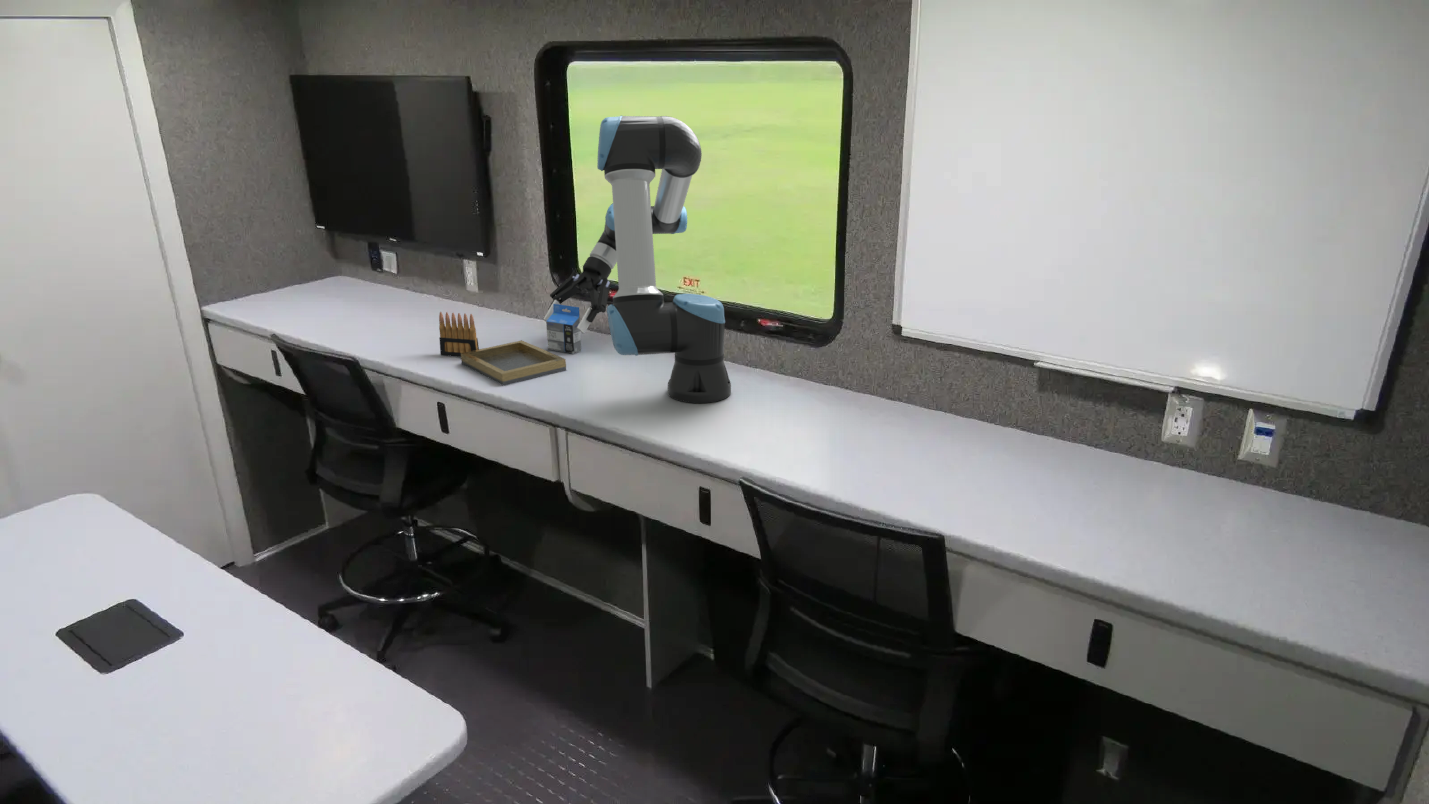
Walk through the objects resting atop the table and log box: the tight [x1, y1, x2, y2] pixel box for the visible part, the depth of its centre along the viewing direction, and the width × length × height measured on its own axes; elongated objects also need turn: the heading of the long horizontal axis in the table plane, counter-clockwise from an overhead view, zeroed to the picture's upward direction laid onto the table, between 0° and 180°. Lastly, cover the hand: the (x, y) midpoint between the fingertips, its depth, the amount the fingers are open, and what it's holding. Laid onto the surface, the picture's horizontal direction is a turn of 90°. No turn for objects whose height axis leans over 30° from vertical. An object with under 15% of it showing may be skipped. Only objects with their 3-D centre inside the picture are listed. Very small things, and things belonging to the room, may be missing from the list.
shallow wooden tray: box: [460, 340, 567, 386], centre depth 220 cm, size 22×18×3 cm
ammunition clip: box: [438, 311, 480, 358], centre depth 228 cm, size 11×2×12 cm, turn 78°
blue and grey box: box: [545, 304, 582, 355], centre depth 233 cm, size 9×4×12 cm, turn 64°
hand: (563, 326), depth 233 cm, fingers open, 13 cm apart
